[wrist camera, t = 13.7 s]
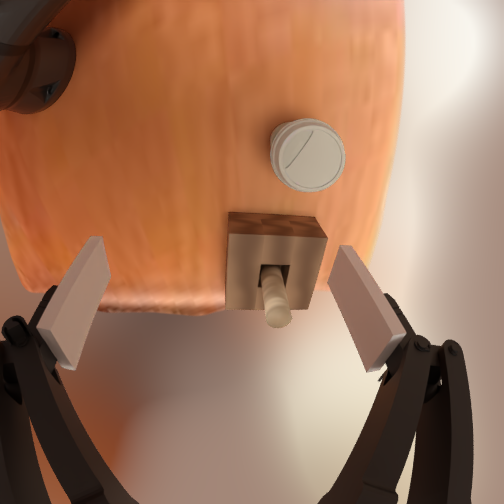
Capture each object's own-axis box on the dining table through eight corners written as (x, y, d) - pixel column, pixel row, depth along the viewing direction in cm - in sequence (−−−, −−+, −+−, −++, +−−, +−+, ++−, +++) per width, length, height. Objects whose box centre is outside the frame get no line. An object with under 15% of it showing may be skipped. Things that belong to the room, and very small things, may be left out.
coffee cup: (304, 104, 34) (335, 109, 24) (325, 155, 38) (358, 180, 28) (250, 126, 35) (259, 138, 25) (274, 177, 40) (291, 208, 30)
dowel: (256, 265, 46) (264, 327, 34) (259, 249, 44) (268, 310, 32) (275, 266, 46) (288, 328, 34) (278, 250, 44) (294, 310, 32)
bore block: (225, 282, 50) (225, 309, 44) (228, 212, 42) (229, 233, 36) (299, 283, 51) (307, 309, 45) (314, 217, 44) (327, 238, 38)
